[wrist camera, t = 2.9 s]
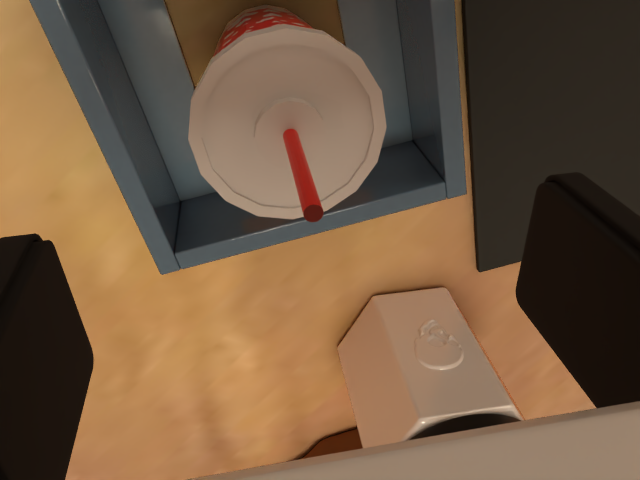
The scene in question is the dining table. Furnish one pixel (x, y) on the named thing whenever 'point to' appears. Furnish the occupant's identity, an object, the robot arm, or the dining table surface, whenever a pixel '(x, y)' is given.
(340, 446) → the plant
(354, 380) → the jar
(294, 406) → the dining table surface
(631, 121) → the mat
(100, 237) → the dining table surface
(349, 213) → the blue-grey open box
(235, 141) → the beverage cup
